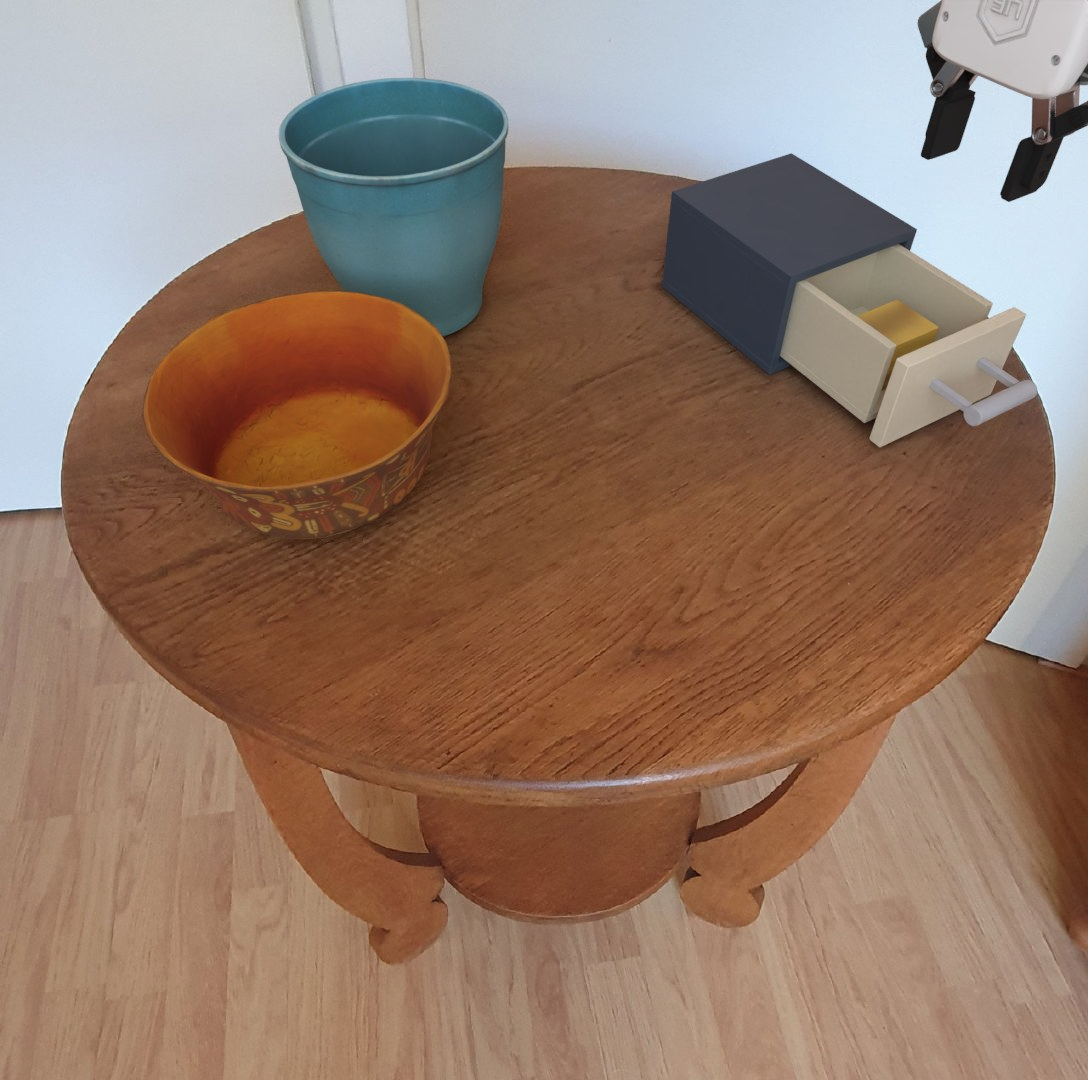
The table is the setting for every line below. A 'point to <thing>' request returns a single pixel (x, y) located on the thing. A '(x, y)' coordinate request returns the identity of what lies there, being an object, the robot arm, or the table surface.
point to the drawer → (865, 354)
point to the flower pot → (403, 189)
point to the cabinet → (766, 247)
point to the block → (900, 329)
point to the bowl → (302, 409)
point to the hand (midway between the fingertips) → (978, 171)
